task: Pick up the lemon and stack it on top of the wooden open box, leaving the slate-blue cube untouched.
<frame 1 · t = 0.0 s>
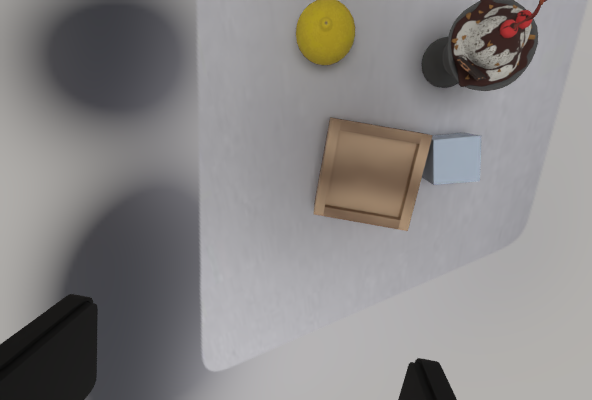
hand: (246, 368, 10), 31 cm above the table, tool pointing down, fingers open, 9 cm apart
lemon: (324, 41, 37), on the table
wooden open box: (365, 169, 40), on the table
sundae: (445, 62, 36), on the table
slate cube: (441, 155, 39), on the table
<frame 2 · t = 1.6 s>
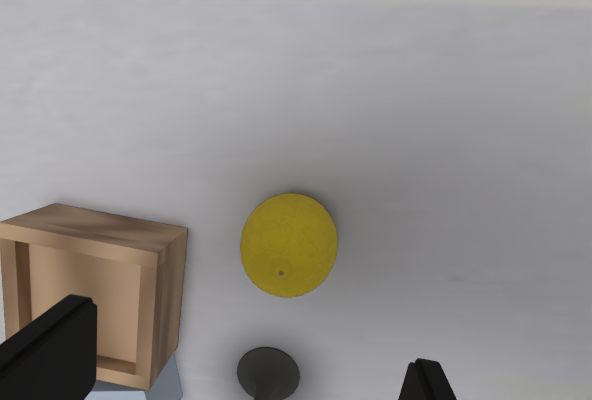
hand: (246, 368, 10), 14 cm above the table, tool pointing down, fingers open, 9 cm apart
lemon: (296, 220, 24), on the table
wooden open box: (118, 277, 26), on the table
sundae: (269, 372, 27), on the table
slate cube: (152, 371, 28), on the table
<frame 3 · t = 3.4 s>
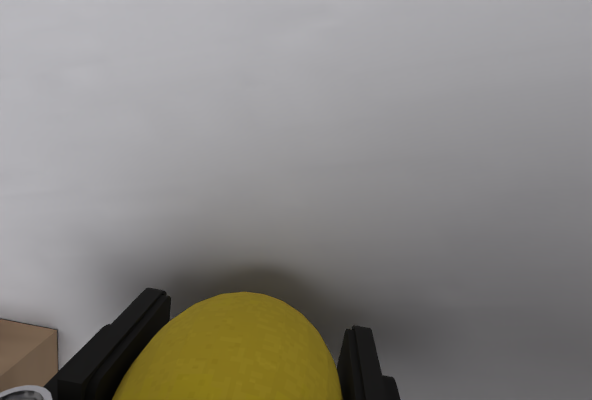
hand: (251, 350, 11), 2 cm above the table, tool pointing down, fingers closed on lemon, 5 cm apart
lemon: (260, 318, 13), on the table, touching gripper
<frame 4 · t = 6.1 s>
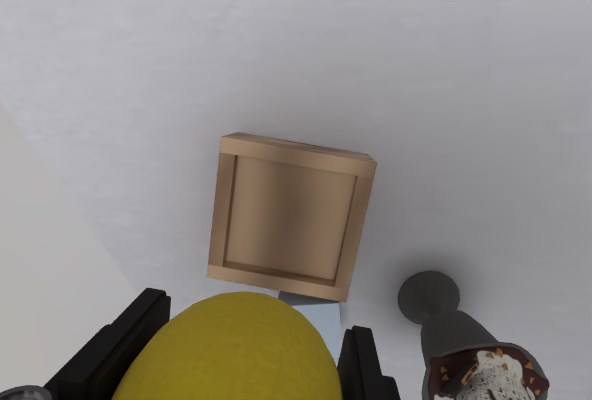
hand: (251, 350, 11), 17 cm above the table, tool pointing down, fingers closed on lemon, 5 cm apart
lemon: (260, 318, 13), point 16 cm above the table, touching gripper
wooden open box: (292, 205, 28), on the table
sundae: (428, 296, 29), on the table
slate cube: (312, 300, 30), on the table
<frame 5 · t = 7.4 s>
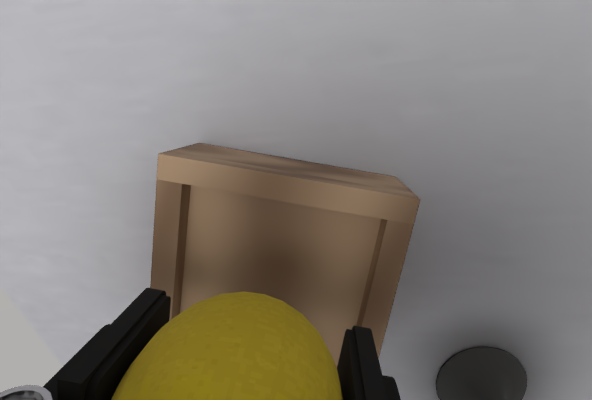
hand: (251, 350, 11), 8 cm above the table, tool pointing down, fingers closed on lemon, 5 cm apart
lemon: (260, 318, 13), point 6 cm above the table, touching gripper
wooden open box: (281, 251, 19), on the table
sundae: (479, 380, 20), on the table
when the fingers open (7 cm above the table, at t = 8.4 s): lemon drops 2 cm, resting on wooden open box.
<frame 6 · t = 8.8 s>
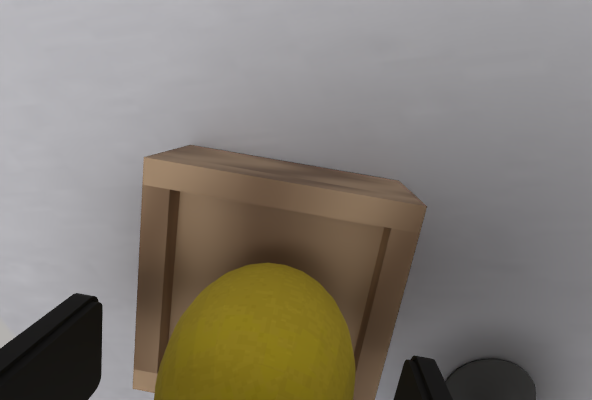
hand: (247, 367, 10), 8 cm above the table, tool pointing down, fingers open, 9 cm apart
lemon: (278, 292, 14), point 3 cm above the table, touching wooden open box
wooden open box: (278, 258, 18), on the table
sundae: (486, 393, 19), on the table
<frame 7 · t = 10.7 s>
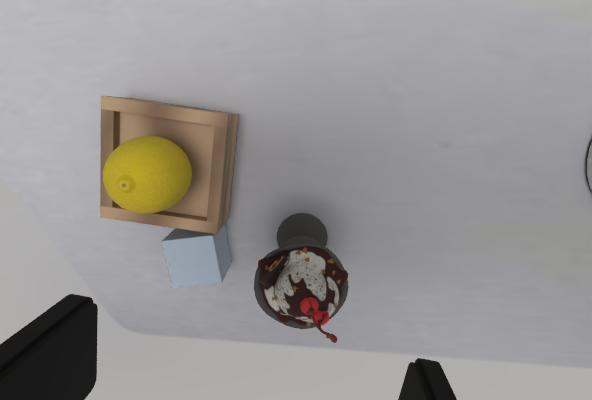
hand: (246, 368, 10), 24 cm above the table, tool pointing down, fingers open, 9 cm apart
lemon: (172, 165, 29), point 3 cm above the table, touching wooden open box
wooden open box: (180, 160, 33), on the table
sundae: (302, 236, 34), on the table
slate cube: (206, 243, 35), on the table
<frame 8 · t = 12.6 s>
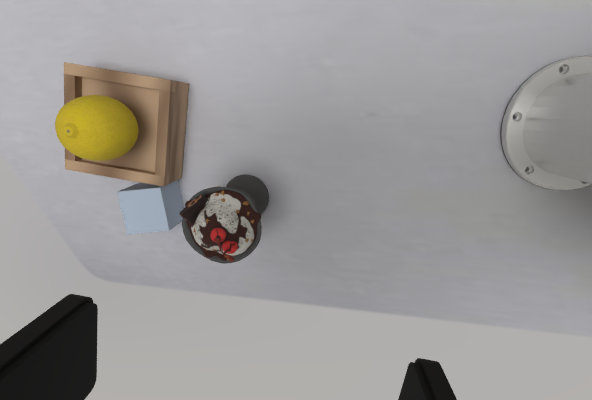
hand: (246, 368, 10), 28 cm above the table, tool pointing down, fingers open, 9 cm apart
lemon: (126, 126, 34), point 3 cm above the table, touching wooden open box
wooden open box: (139, 124, 37), on the table
sundae: (247, 196, 39), on the table
slate cube: (162, 200, 39), on the table
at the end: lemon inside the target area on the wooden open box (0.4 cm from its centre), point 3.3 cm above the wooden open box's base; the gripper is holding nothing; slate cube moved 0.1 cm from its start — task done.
